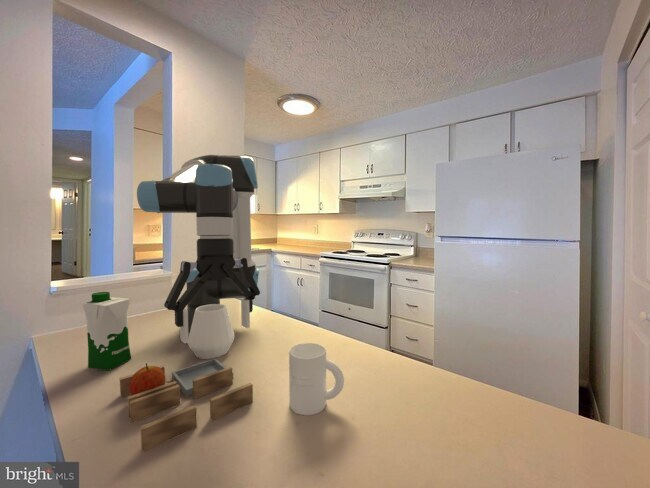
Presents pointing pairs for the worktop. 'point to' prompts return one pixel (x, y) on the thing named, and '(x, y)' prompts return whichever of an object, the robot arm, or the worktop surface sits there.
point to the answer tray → (195, 374)
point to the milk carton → (107, 331)
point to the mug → (311, 378)
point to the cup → (211, 331)
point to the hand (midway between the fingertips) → (217, 333)
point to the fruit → (146, 379)
